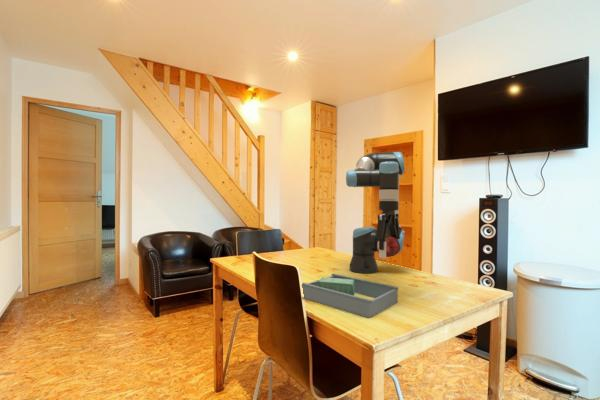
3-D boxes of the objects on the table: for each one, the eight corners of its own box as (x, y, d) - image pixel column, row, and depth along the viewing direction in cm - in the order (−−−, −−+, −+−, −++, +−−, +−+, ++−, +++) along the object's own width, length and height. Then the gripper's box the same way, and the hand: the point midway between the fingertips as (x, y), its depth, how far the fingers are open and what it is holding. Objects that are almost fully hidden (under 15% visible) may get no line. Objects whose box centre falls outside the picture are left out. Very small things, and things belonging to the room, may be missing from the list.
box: (353, 303, 118) (353, 283, 117) (318, 300, 121) (318, 281, 121) (355, 297, 125) (355, 278, 125) (321, 294, 128) (321, 276, 128)
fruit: (401, 256, 128) (402, 231, 128) (398, 260, 119) (398, 233, 119) (379, 254, 132) (379, 230, 132) (374, 257, 123) (374, 232, 123)
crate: (333, 286, 139) (333, 273, 139) (398, 302, 119) (398, 287, 119) (301, 297, 123) (301, 283, 123) (369, 318, 103) (369, 301, 103)
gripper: (391, 200, 136) (391, 251, 136) (366, 200, 120) (366, 258, 120) (408, 200, 131) (408, 254, 131) (384, 200, 115) (384, 261, 115)
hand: (388, 256), depth 126 cm, fingers closed on fruit, 9 cm apart
